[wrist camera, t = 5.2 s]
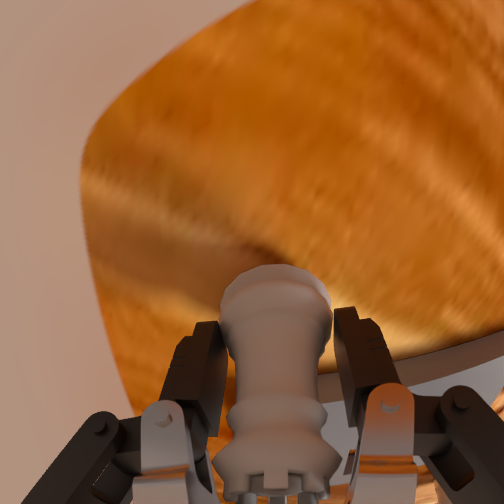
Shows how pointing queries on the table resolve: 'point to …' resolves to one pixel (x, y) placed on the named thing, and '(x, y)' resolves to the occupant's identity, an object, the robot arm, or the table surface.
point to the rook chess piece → (276, 387)
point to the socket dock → (417, 388)
